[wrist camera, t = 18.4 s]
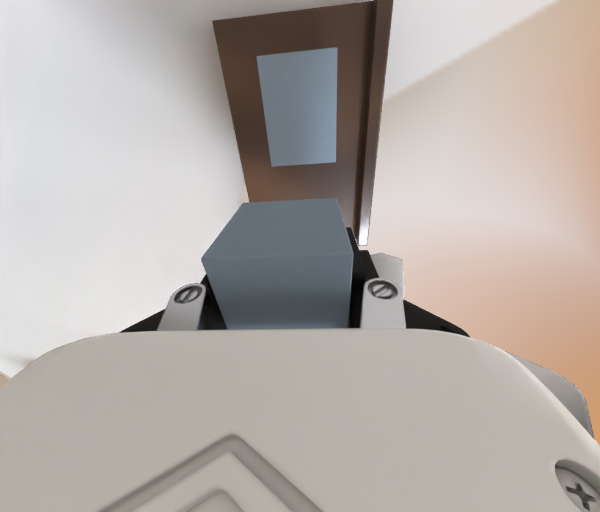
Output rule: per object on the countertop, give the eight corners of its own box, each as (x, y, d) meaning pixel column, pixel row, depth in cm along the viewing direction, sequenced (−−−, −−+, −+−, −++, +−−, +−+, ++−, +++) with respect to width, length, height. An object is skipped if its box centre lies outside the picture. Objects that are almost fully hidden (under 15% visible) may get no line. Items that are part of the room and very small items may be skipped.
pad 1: (269, 69, 17) (256, 55, 13) (330, 63, 16) (337, 46, 12) (279, 155, 20) (271, 166, 16) (330, 151, 20) (335, 162, 15)
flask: (396, 296, 30) (429, 368, 22) (343, 295, 30) (355, 365, 22) (411, 252, 26) (458, 318, 18) (349, 250, 26) (367, 315, 18)
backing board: (217, 25, 16) (203, 12, 14) (383, 4, 15) (395, -12, 13) (259, 239, 26) (255, 250, 24) (362, 234, 25) (367, 245, 23)
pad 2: (242, 202, 11) (199, 258, 7) (336, 197, 11) (354, 252, 6) (262, 293, 14) (241, 369, 10) (335, 291, 14) (345, 369, 10)
